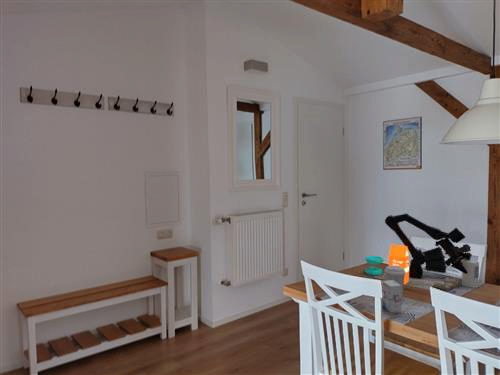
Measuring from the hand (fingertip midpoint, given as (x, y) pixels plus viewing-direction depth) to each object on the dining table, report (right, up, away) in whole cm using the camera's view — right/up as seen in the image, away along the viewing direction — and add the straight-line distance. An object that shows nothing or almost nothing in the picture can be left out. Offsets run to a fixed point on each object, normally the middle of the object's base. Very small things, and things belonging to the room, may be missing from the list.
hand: (470, 272), depth 195 cm
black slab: (-4, -6, +31) cm, 31 cm away
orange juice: (-34, -7, +9) cm, 36 cm away
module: (0, -7, 0) cm, 7 cm away
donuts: (-43, -7, +24) cm, 49 cm away
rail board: (-14, -7, -2) cm, 16 cm away
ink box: (-54, -9, -33) cm, 64 cm away
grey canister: (-48, -8, -20) cm, 53 cm away
